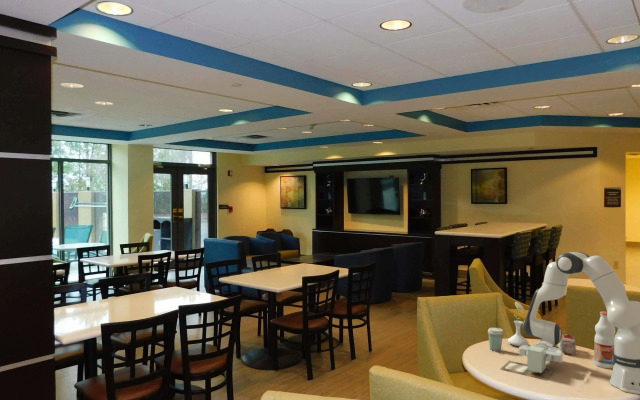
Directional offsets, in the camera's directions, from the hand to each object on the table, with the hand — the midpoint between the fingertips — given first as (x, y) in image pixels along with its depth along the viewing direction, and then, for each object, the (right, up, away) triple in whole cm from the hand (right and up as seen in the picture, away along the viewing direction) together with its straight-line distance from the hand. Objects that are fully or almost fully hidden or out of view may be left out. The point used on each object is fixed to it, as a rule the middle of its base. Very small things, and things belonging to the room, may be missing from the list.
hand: (536, 357), depth 228 cm
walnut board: (-3, -8, +3) cm, 9 cm away
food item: (+34, -8, +34) cm, 49 cm away
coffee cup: (-7, -8, +35) cm, 37 cm away
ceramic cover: (0, -5, 0) cm, 6 cm away
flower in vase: (+10, -8, +46) cm, 47 cm away
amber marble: (-2, -7, -1) cm, 7 cm away
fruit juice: (+42, -9, +13) cm, 44 cm away
